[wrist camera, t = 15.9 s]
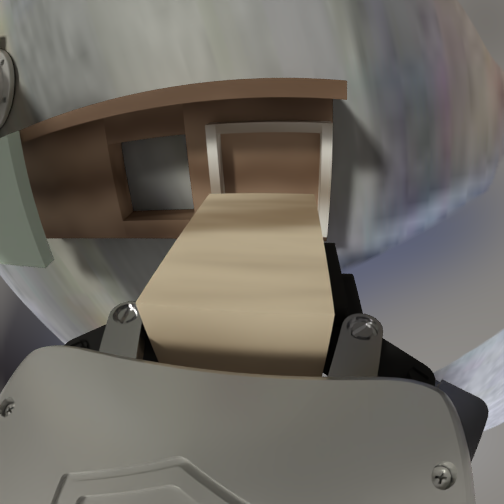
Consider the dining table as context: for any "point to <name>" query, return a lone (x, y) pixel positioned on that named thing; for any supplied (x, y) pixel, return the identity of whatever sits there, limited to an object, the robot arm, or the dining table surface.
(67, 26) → the dining table surface
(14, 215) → the sliding cover
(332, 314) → the beech block
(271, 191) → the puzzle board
